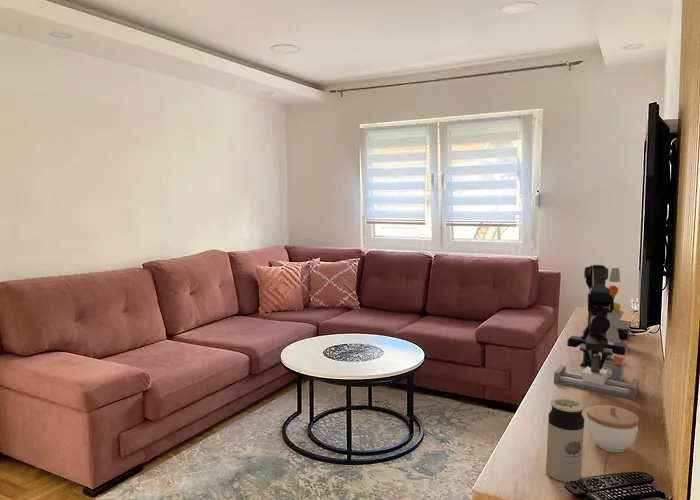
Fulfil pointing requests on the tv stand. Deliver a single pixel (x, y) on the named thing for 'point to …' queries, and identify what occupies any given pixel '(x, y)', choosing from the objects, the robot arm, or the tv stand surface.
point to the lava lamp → (616, 313)
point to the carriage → (595, 371)
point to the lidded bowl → (612, 427)
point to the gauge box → (614, 371)
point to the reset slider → (618, 360)
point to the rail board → (607, 388)
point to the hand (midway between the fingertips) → (595, 368)
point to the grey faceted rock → (612, 353)
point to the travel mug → (565, 440)
